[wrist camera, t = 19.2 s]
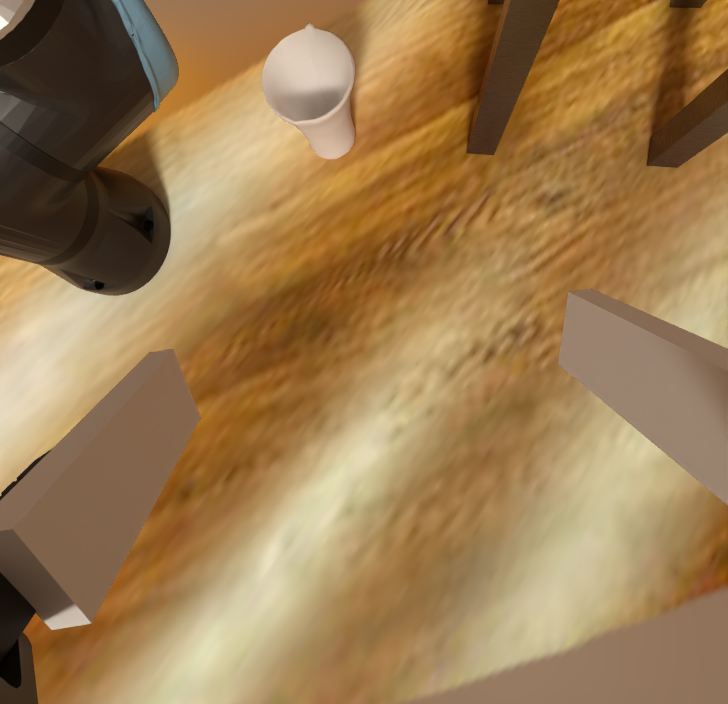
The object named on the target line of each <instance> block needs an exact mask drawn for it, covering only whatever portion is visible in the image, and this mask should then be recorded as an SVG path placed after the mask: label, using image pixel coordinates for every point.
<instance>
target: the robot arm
mask: <svg viewBox="0 0 728 704" xmlns="http://www.w3.org/2000/svg"><path fill="white" fill-rule="evenodd" d="M178 76H179V68H178V63H177V59H176V57H175V54H174V52H173V50H172V48H171V46H170V44H169V42H168V40H167V38H166V36H165V35H164V33H163V31H162V29H161V28H160V26H159V24H158V23H157V21H156V20H155V18H154V16H153V15H152V13H151V12H150V10H149V8H148V7H147V5H146V4H145V2H144V0H0V255H2V256H6V257H10V258H14V259H19V260H23V261H27V262H31V263H35V264H39V265H41V266H43V267H44V268H46V269H48V270H49V271H51V272H53V273H54V274H56V275H58V276H59V277H61V278H63V279H64V280H66V281H68V282H69V283H71V284H72V285H74V286H76V287H78V288H80V289H83V290H86V291H89V292H94V293H99V294H104V295H114V296H115V295H123V294H127V293H131V292H133V291H135V290H137V289H139V288H141V287H142V286H144V285H145V284H146V283H148V282H149V281H150V280H151V279H152V278H153V277H154V276H155V274H156V273H157V272H158V270H159V269H160V267H161V265H162V264H163V262H164V259H165V257H166V254H167V251H168V246H169V239H170V228H169V221H168V217H167V214H166V211H165V209H164V206H163V204H162V203H161V201H160V200H159V198H158V197H157V196H156V194H155V193H154V192H153V191H152V190H150V189H149V188H148V187H147V186H145V185H144V184H142V183H141V182H139V181H137V180H136V179H134V178H133V177H131V176H129V175H127V174H124V173H122V172H119V171H116V170H111V169H107V168H103V167H98V166H97V165H98V164H99V163H100V162H101V161H102V160H103V159H104V158H105V157H106V156H108V155H109V154H110V153H111V152H112V151H113V150H114V149H115V148H116V147H117V146H118V145H119V144H120V143H121V142H122V141H123V140H124V139H125V138H126V137H127V136H129V135H130V134H131V133H132V132H133V131H134V130H135V129H136V128H137V127H138V126H139V125H140V124H141V123H142V122H143V121H144V120H145V119H146V118H147V117H148V116H149V115H151V114H152V113H153V112H155V111H156V110H157V109H158V108H159V105H160V102H161V101H162V100H163V99H164V98H165V97H166V95H167V94H168V93H169V92H170V91H171V90H172V89H173V87H174V86H175V85H176V83H177V80H178ZM558 364H559V365H560V366H561V367H562V368H564V369H565V370H566V371H567V372H568V373H570V374H571V375H572V376H573V377H574V378H576V379H577V380H578V381H579V382H580V383H582V384H583V385H584V386H585V387H586V388H588V389H589V390H590V391H591V392H592V393H594V394H595V395H596V396H597V397H598V398H600V399H601V400H602V401H603V402H604V403H606V404H607V405H608V406H609V407H610V408H612V409H613V410H614V411H615V412H616V413H618V414H619V415H620V416H621V417H622V418H624V419H625V420H626V421H627V422H628V423H630V424H631V425H632V426H633V427H634V428H636V429H637V430H638V431H639V432H640V433H642V434H643V435H644V436H645V437H646V438H648V439H649V440H650V441H651V442H652V443H654V444H655V445H656V446H657V447H658V448H660V449H661V450H662V451H663V452H664V453H666V454H667V455H668V456H669V457H670V458H672V459H673V460H674V461H675V462H676V463H678V464H679V465H680V466H681V467H682V468H684V469H685V470H686V471H687V472H688V473H690V474H691V475H692V476H693V477H694V478H696V479H697V480H698V481H699V482H700V483H702V484H703V485H704V486H705V487H706V488H708V489H709V490H710V491H711V492H712V493H714V494H715V495H716V496H717V497H718V498H720V499H721V500H722V501H723V502H724V503H726V504H727V505H728V349H727V348H725V347H722V346H720V345H718V344H716V343H713V342H711V341H709V340H706V339H704V338H702V337H700V336H697V335H695V334H693V333H691V332H688V331H686V330H684V329H682V328H679V327H677V326H675V325H672V324H670V323H668V322H666V321H663V320H661V319H659V318H657V317H654V316H652V315H650V314H647V313H645V312H643V311H641V310H638V309H636V308H634V307H632V306H629V305H627V304H625V303H623V302H620V301H618V300H616V299H613V298H611V297H609V296H607V295H604V294H602V293H600V292H598V291H595V290H593V289H585V290H578V291H571V292H568V299H567V306H566V313H565V321H564V328H563V335H562V342H561V349H560V356H559V363H558ZM200 418H201V417H200V415H199V412H198V410H197V407H196V405H195V402H194V400H193V397H192V395H191V392H190V390H189V387H188V385H187V382H186V380H185V377H184V375H183V372H182V370H181V367H180V365H179V362H178V360H177V357H176V355H175V352H174V350H173V349H170V350H163V351H156V352H149V353H148V354H147V355H146V356H145V357H144V358H143V359H142V360H141V361H140V362H139V363H138V364H137V365H136V366H135V367H134V368H133V369H132V370H131V371H130V372H129V373H128V374H127V375H126V376H125V377H124V378H123V379H122V380H121V381H120V382H119V383H118V384H117V385H116V386H115V387H114V388H113V389H112V390H111V391H110V392H109V393H108V394H107V395H106V396H105V397H104V398H103V399H102V400H101V401H100V402H99V403H98V404H97V405H96V406H95V407H94V408H93V409H92V410H91V411H90V412H89V413H88V414H87V415H86V416H85V417H84V418H83V419H82V420H81V421H80V422H79V423H78V424H77V425H76V426H75V427H74V428H73V429H72V430H71V431H70V432H69V433H68V434H67V435H66V436H65V437H64V438H63V439H62V440H61V441H60V442H59V443H58V444H57V445H56V446H55V447H54V448H53V449H51V450H50V451H48V452H47V453H45V454H44V455H42V456H41V457H39V458H38V459H36V460H35V461H34V462H33V463H32V464H31V465H30V466H29V467H28V468H27V469H26V470H25V471H24V472H22V473H21V474H20V475H19V476H18V477H17V481H14V482H12V483H11V484H10V485H9V486H8V487H7V488H6V489H5V490H4V491H3V492H2V496H0V704H38V699H37V690H36V681H35V672H34V663H33V655H32V646H31V643H30V641H29V639H28V637H27V636H26V635H25V634H24V633H23V630H24V629H25V627H26V626H27V624H28V623H29V621H30V620H31V618H32V617H33V615H34V614H35V613H36V614H37V615H38V616H39V617H40V618H41V619H42V620H43V621H44V622H45V623H46V624H47V625H48V626H49V627H50V629H51V630H54V629H60V628H67V627H73V626H79V625H85V624H91V623H92V622H93V620H94V618H95V616H96V614H97V612H98V610H99V608H100V607H101V605H102V603H103V601H104V599H105V597H106V595H107V593H108V591H109V590H110V588H111V586H112V584H113V582H114V580H115V578H116V576H117V574H118V573H119V571H120V569H121V567H122V565H123V563H124V561H125V559H126V557H127V556H128V554H129V552H130V550H131V548H132V546H133V544H134V542H135V540H136V539H137V537H138V535H139V533H140V531H141V529H142V527H143V525H144V523H145V522H146V520H147V518H148V516H149V514H150V512H151V510H152V508H153V506H154V505H155V503H156V501H157V499H158V497H159V495H160V493H161V491H162V489H163V488H164V486H165V484H166V482H167V480H168V478H169V476H170V474H171V472H172V471H173V469H174V467H175V465H176V463H177V461H178V459H179V457H180V455H181V454H182V452H183V450H184V448H185V446H186V444H187V442H188V440H189V438H190V437H191V435H192V433H193V431H194V429H195V427H196V425H197V423H198V421H199V420H200Z"/></svg>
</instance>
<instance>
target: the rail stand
mask: <svg viewBox="0 0 728 704" xmlns="http://www.w3.org/2000/svg"><path fill="white" fill-rule="evenodd" d="M559 1H560V0H488V4H503V8H502V12H501V15H500V19H499V23H498V26H497V30H496V34H495V37H494V41H493V45H492V49H491V52H490V56H489V60H488V63H487V67H486V71H485V74H484V78H483V82H482V85H481V89H480V93H479V97H478V100H477V104H476V108H475V111H474V115H473V119H472V122H471V126H470V132H469V140H468V147H467V153H471V154H486V155H494V153H495V151H496V148H497V146H498V144H499V141H500V139H501V137H502V134H503V132H504V130H505V127H506V125H507V123H508V120H509V118H510V116H511V113H512V111H513V109H514V106H515V104H516V102H517V99H518V97H519V94H520V92H521V90H522V87H523V85H524V83H525V80H526V78H527V76H528V73H529V71H530V69H531V66H532V64H533V62H534V59H535V57H536V55H537V52H538V50H539V48H540V45H541V43H542V40H543V38H544V36H545V33H546V31H547V29H548V26H549V24H550V22H551V19H552V17H553V15H554V12H555V10H556V8H557V5H558V3H559ZM706 1H707V0H671V1H670V7H678V8H701V7H702V5H703V4H704V3H705V2H706ZM726 133H728V69H727V70H726V71H725V72H724V73H722V74H721V75H720V76H719V77H718V78H717V79H716V80H715V81H714V82H712V83H711V84H710V85H709V86H708V87H707V88H706V89H705V90H703V91H702V92H701V93H700V94H699V95H698V96H697V97H696V98H695V99H693V100H692V101H691V102H690V103H689V104H688V105H687V106H686V107H685V108H683V109H682V110H681V111H680V112H679V113H678V114H677V115H676V116H675V117H673V118H672V119H671V120H670V121H669V122H668V123H667V124H666V125H665V126H663V127H662V128H661V129H660V130H659V131H658V132H657V133H656V134H655V135H653V136H652V137H651V141H650V148H649V155H648V162H647V166H662V167H676V168H678V167H679V166H680V165H682V164H683V163H685V162H686V161H688V160H689V159H690V158H692V157H693V156H695V155H696V154H698V153H699V152H700V151H702V150H703V149H705V148H706V147H708V146H709V145H711V144H712V143H713V142H715V141H716V140H718V139H719V138H721V137H722V136H723V135H725V134H726Z"/></svg>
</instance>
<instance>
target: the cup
mask: <svg viewBox="0 0 728 704" xmlns="http://www.w3.org/2000/svg"><path fill="white" fill-rule="evenodd" d="M354 78H355V63H354V58H353V55H352V53H351V51H350V49H349V48H348V47H347V45H346V44H345V43H344V41H343V40H342V39H340V38H339V37H338V36H336V35H335V34H334V33H332V32H329V31H325V30H321V29H318V28H316V27H314V26H313V25H312V24H311V23H308V24H307V25H306V27H305V28H304V29H302V30H299V31H297V32H295V33H293V34H291V35H289V36H287V37H286V38H284V39H282V40H281V41H280V43H279V44H278V45H277V46H276V47H275V48H274V49H273V50H272V51H271V53H270V54H269V56H268V58H267V60H266V62H265V65H264V69H263V73H262V89H263V92H264V95H265V98H266V100H267V102H268V104H269V105H270V107H271V108H272V110H273V111H274V112H275V114H277V115H278V116H279V117H280V118H282V119H283V120H284V121H286V122H288V123H290V124H292V125H295V126H296V127H297V128H298V129H299V130H300V131H302V133H303V134H304V135H305V137H306V138H307V140H308V141H309V143H310V145H311V147H312V149H313V151H314V152H315V153H316V154H317V155H318V156H320V157H322V158H325V159H337V158H339V157H341V156H343V155H344V154H346V153H347V152H349V150H350V149H351V147H352V146H353V144H354V140H355V128H354V125H353V122H352V118H351V113H350V94H351V91H352V88H353V84H354Z"/></svg>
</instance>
